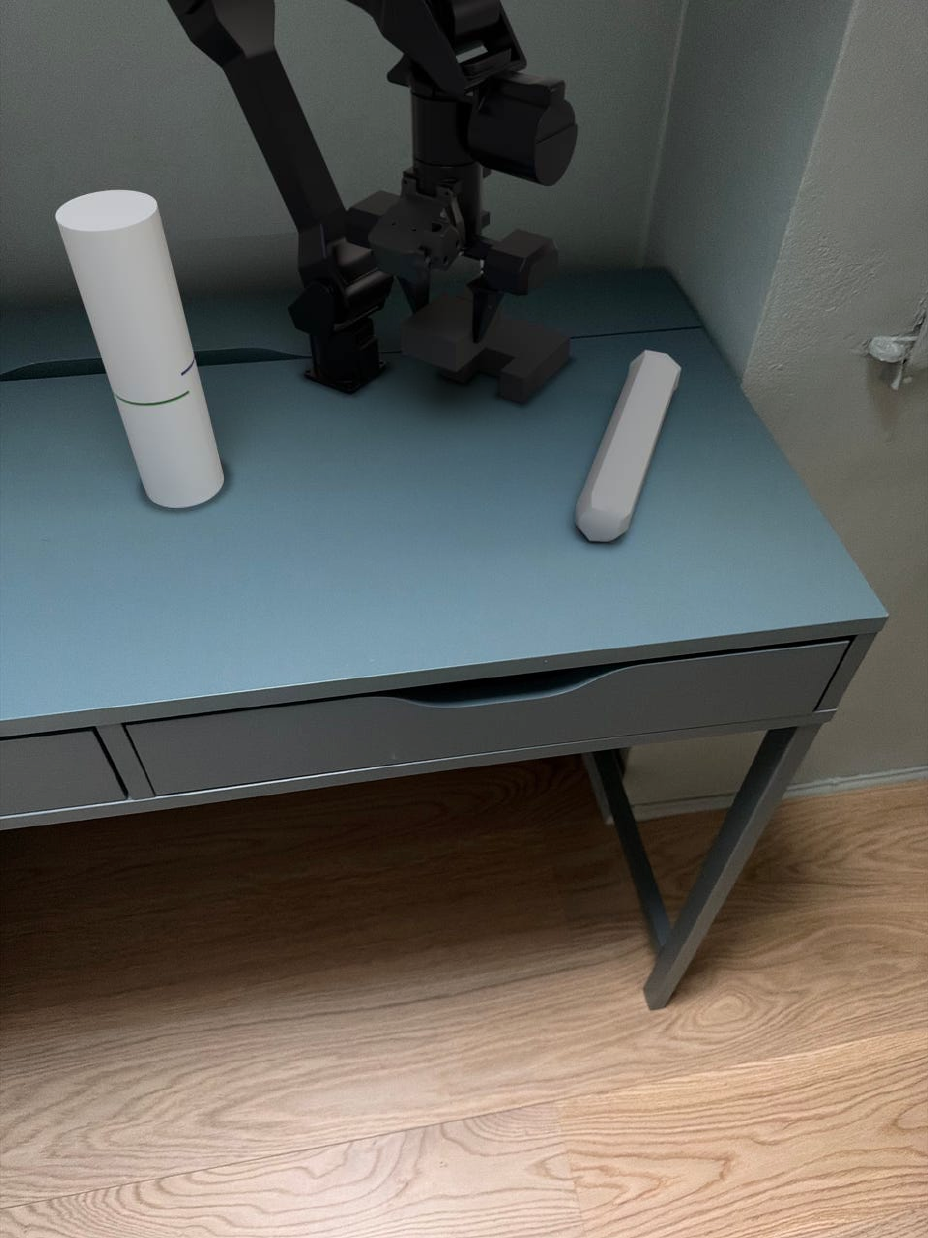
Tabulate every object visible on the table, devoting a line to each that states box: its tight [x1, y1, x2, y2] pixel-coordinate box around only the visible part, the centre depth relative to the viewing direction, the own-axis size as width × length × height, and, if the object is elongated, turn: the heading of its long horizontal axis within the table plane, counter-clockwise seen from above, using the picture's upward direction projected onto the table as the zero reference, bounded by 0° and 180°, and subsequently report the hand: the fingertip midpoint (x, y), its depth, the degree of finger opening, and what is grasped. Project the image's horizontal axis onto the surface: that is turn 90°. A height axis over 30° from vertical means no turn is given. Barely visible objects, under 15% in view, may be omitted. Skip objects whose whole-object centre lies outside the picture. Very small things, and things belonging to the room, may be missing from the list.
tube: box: [574, 349, 682, 542], centre depth 84 cm, size 5×5×25 cm
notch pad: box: [441, 313, 572, 405], centre depth 96 cm, size 10×10×3 cm
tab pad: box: [400, 286, 502, 372], centre depth 84 cm, size 6×10×3 cm, turn 147°
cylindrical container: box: [54, 189, 225, 509], centre depth 74 cm, size 7×7×25 cm
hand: (449, 331), depth 83 cm, fingers closed on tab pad, 6 cm apart
